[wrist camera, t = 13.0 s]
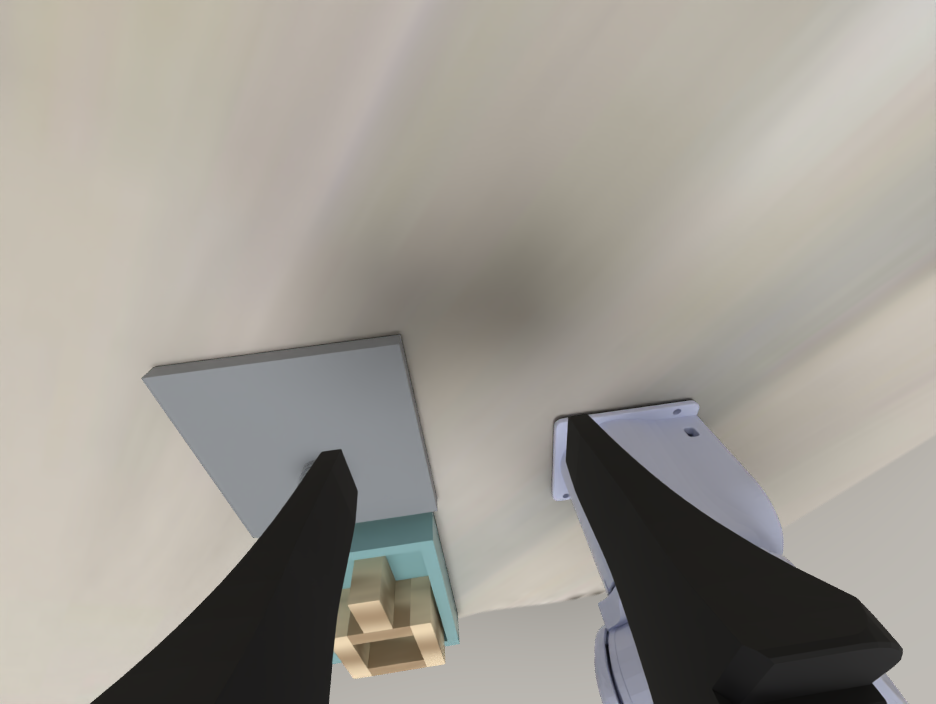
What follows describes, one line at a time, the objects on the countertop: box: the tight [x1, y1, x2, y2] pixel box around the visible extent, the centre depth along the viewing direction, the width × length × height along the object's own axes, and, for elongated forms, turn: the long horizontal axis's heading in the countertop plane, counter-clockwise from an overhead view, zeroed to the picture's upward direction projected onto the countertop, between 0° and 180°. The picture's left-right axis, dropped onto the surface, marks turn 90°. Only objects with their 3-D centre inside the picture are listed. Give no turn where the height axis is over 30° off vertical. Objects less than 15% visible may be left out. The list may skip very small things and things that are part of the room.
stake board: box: [141, 335, 437, 538], centre depth 22 cm, size 14×13×5 cm
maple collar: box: [334, 556, 445, 679], centre depth 31 cm, size 12×8×4 cm, turn 6°
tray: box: [332, 512, 459, 664], centre depth 32 cm, size 12×17×2 cm
